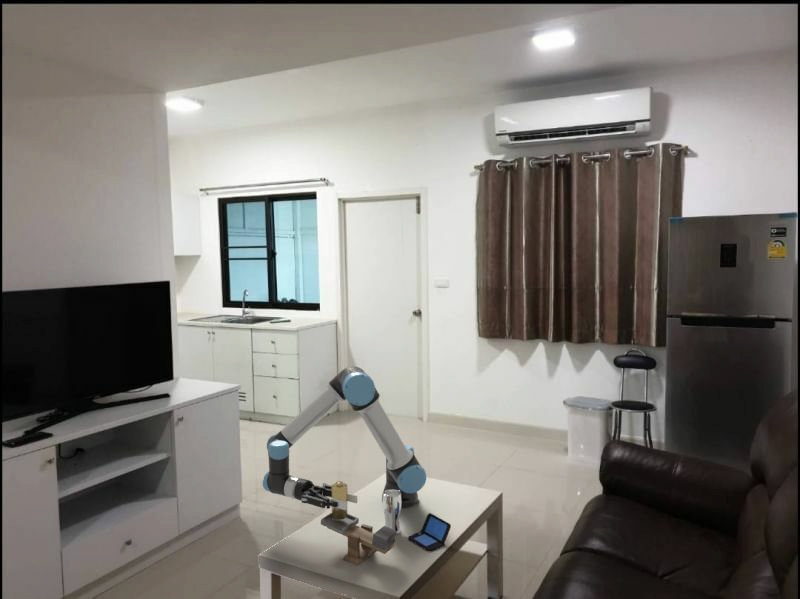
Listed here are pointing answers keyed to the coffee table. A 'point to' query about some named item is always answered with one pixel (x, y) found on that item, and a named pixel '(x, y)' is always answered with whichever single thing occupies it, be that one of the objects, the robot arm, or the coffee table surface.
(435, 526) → the handheld game console
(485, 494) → the coffee table surface
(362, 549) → the beam stand
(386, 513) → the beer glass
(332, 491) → the brass weight
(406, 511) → the coffee table surface
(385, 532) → the balance beam
